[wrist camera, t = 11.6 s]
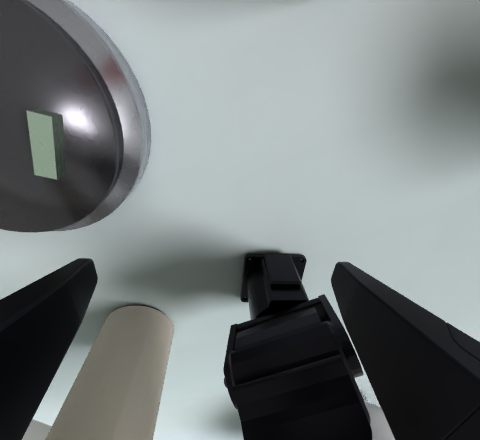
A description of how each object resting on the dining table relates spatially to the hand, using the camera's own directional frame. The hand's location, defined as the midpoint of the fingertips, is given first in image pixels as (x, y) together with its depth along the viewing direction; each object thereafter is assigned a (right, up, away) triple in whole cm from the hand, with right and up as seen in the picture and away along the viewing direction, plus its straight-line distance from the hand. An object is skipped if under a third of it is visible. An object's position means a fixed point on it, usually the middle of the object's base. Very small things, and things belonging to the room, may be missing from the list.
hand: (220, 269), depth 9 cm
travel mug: (-11, -11, +20) cm, 26 cm away
